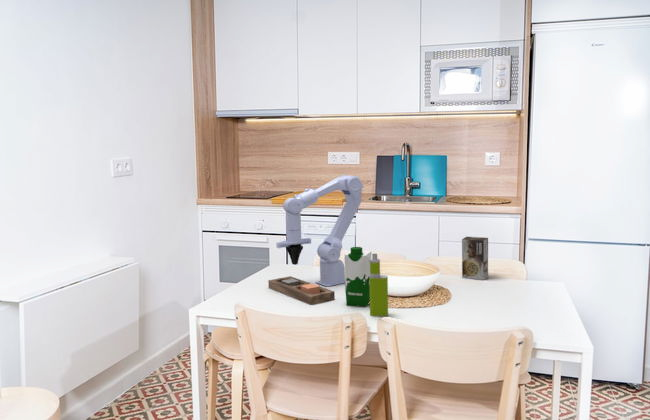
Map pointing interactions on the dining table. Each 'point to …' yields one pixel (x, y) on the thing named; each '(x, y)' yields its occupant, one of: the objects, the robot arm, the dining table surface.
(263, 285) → the dining table surface
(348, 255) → the milk carton
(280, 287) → the brown ladder-shaped frame
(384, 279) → the vape
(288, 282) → the silver metal block
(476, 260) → the coffee box
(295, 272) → the dining table surface
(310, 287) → the salmon pink cube
